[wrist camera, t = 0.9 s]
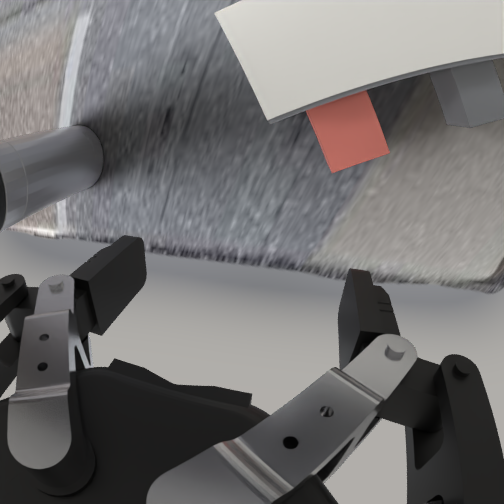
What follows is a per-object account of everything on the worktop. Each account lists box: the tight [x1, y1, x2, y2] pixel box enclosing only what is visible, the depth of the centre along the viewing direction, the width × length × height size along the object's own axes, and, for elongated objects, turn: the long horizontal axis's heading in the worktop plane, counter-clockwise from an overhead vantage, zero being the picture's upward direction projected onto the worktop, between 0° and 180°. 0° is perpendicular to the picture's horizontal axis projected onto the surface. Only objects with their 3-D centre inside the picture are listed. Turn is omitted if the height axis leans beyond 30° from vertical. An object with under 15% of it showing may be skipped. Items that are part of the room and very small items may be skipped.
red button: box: [306, 90, 390, 173], centre depth 24 cm, size 5×6×5 cm
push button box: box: [214, 0, 504, 124], centre depth 20 cm, size 23×8×16 cm, turn 114°
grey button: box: [429, 60, 504, 128], centre depth 20 cm, size 5×6×5 cm
